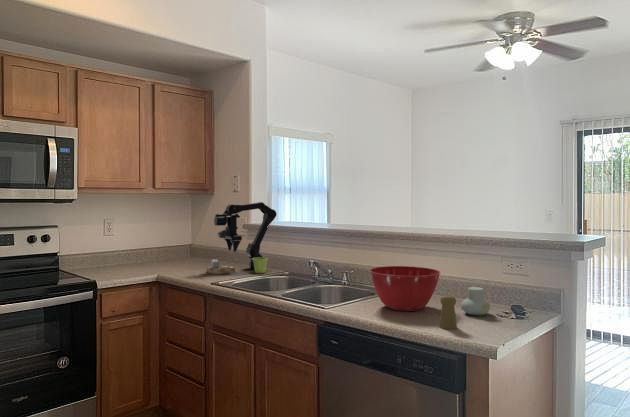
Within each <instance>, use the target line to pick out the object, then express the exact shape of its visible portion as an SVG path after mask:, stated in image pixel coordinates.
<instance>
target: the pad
mask: <svg viewBox="0 0 630 417" xmlns="http://www.w3.org/2000/svg"><path fill="white" fill-rule="evenodd" d="M228 274H229V275H231V276H239V275H248V273H247V272H244V271H235V272H232V273H228Z"/></svg>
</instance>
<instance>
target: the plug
mask: <svg viewBox="0 0 630 417" xmlns="http://www.w3.org/2000/svg"><path fill="white" fill-rule="evenodd" d="M210 263H211V264H210V267H211V269H213V268H219V266H220V261H219V259H211V261H210Z"/></svg>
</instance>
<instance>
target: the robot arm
mask: <svg viewBox="0 0 630 417" xmlns="http://www.w3.org/2000/svg"><path fill="white" fill-rule="evenodd" d="M251 210H253V211H254V210H259V212H261V213H262V214H263V215H262V222H261V223H260V224H261V225H260V226H259V229H258V231H257V233H256V235H255V236H254V237H255V238H254V239H253V241H252V242H251V243H248V244H247V246H246V252H245V253H246V255H247V256H248V258H249V262H248V269H249V270H253V271H255V269H254V262H253V259H252V258H257V257H263V255H261V253H260V250H261V244H262V242H263V240H264V237H265V235H266V233H267V230H268V228H269V226H270V225H271V223H272V222H274V221H275V218H276V217H277V214H278V213H277V211H276V210H275V209H272V208H271V207H270V206H268V205H267V204H265V203H264V202H261V201H259V202H252V203H245V204H244V203H243V204H233V203H232V204H228V205H227V206H226V208H225V210H224V212H223V213H222V214H219V213H216V214H215V216H214V219H213V223H214V226H216V227H217V226H218V227H219V226H223V227H224V226H226V225H227V226H226V227H225V229H223V230H221V231H218V232H217V235H218V238H219V239H223V240H224V241H225V242H226V245H227V249H228V251H231V250H232V249H233V251H232V252H233V253H236V252H237V250H238V247H239V245H240V243H241V242H242V240H243V236H242V235H240V234H238V229H239V227H238V220H237V219H238V218H241V216H240V215H239V213H241V212H245V211H251ZM268 225H269V226H268ZM267 226H268V228H267Z"/></svg>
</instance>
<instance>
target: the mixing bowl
mask: <svg viewBox="0 0 630 417" xmlns="http://www.w3.org/2000/svg"><path fill="white" fill-rule="evenodd" d="M369 272H370V275H371V280H372V283H373V286H374V289H375V291H376V293H377V296H378V297H379V300H380V301H381V302H382V303H383V305H385V307H387V308H388V309H389V310H393V311H394V310H395V311H401V312H414V311H419V310H421V309H422V308H424V307H425V306H427V305H428V303H429V302H430V300H431V298H432V297H433V296H434V293H435V290H436V288H437V285H438V281H439V277H440V275H441V270H437V269H435V268H430V267H429V268H428V267H422V266H409V265H406V266H405V265H389V266H388V265H387V266H377V267H376V266H375V267H372V268H370V269H369Z"/></svg>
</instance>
